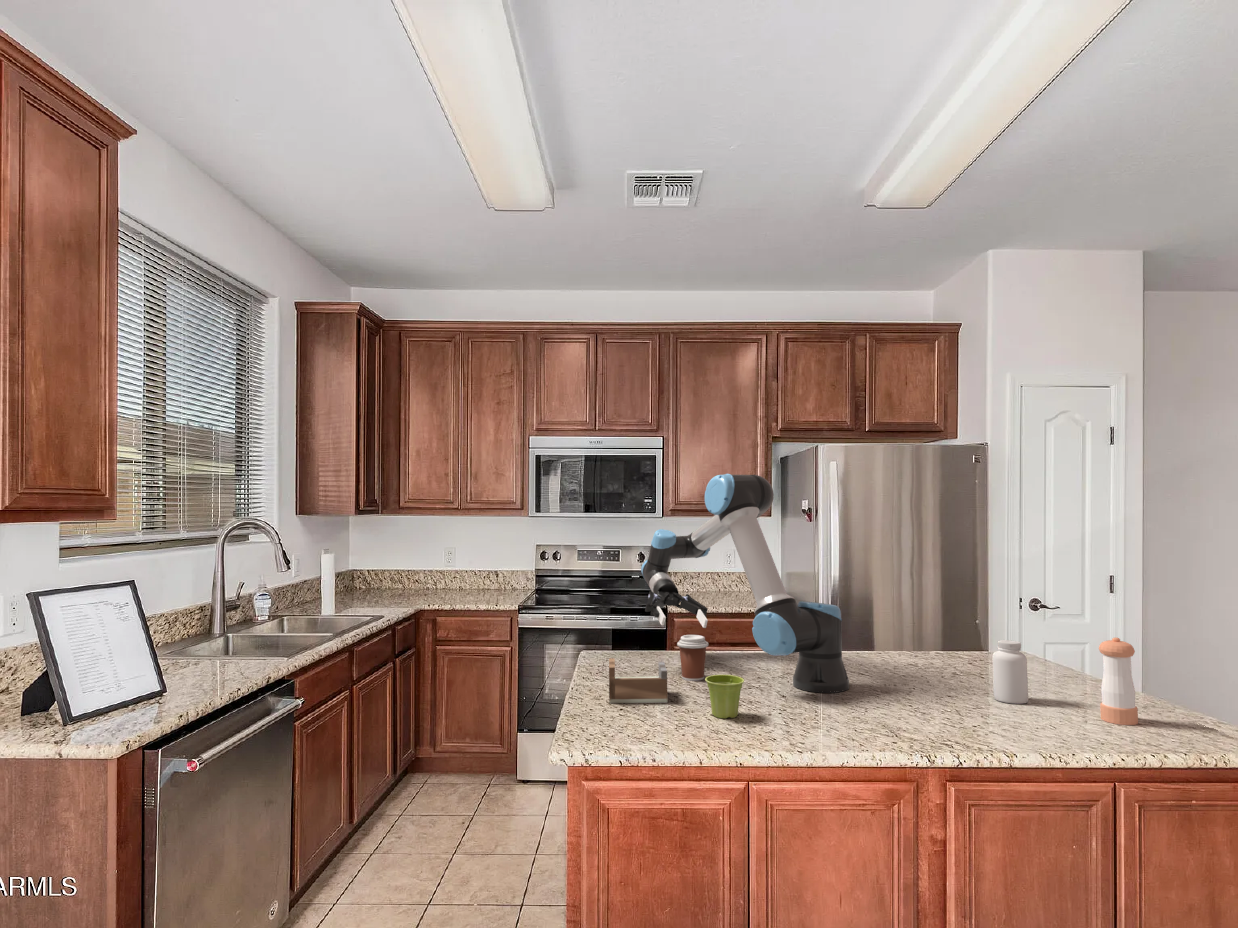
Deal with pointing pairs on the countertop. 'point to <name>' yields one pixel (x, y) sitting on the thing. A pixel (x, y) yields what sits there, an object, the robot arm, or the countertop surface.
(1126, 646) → the pepper shaker
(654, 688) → the shelf
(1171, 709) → the countertop surface
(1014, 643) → the pill bottle
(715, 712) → the plant pot
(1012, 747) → the countertop surface
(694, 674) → the coffee cup
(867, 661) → the countertop surface
